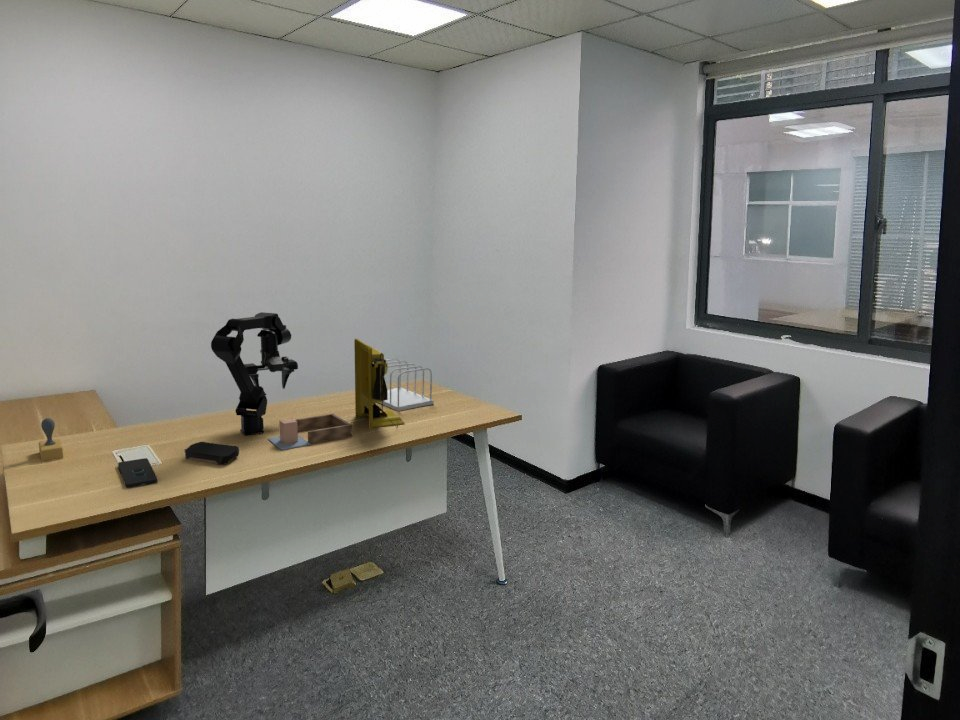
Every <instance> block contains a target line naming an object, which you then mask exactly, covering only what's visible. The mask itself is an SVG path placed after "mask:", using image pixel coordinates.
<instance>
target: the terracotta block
mask: <svg viewBox="0 0 960 720" xmlns="http://www.w3.org/2000/svg"><path fill="white" fill-rule="evenodd" d="M278 422H279V436H280V441H282V442H283V443H284V444H288V443H293V442H298V435H299V434H298V433H299V432H298V427H297V421H296V420H295V419H294V418H285V419H279V421H278Z"/></svg>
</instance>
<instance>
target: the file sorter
mask: <svg viewBox="0 0 960 720" xmlns="http://www.w3.org/2000/svg"><path fill="white" fill-rule="evenodd" d="M385 360H386V362H387V366H388V368H393V367H394V369H392V370H391V371H390V373H389V374H390V375H389V388H387V391H388V400H384V402H383V406H385V407H387V408H389V409H392V410H394V411H397V412H399V411H404V410H410V409H415V408H420V407H425V406H430V405H434V404H435V403H434V399H432V395H433V393H432V392H433V391H432V389H433V388H432V387H433V373H432V369H431V368H429V367H425V368H424V367H423V366H422V365H416V364H415V363H410V362H409V363H408V362H407V361H406V360H400V359H398V358H390V359H387V358H386V359H385ZM390 364H392V365H390ZM402 366H405V367H402ZM395 367H397V368H395ZM409 369H411V370H409ZM402 370H404V371H402ZM425 370H426V371H427V370H428V371H429V375H430V376H429V383H430V385H429V397H427V396H425V395H424V392H425V391H424V390H425ZM395 371H399V372H398V373H399V374H398V376H397V387H394V388H392V376H393V373H394V372H395ZM418 371H422V379H421V380H422V384H421V385H422V386H421V387H422V388H421V394H419V393H417V391H416V390H417V372H418ZM412 372H414V387H413V388H414V391H411V390H409V373H412ZM404 373H406V388H403V387H402V379H401V376H402V374H404ZM379 404H380V405H382V402H380V403H379Z"/></svg>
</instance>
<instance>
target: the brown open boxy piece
mask: <svg viewBox="0 0 960 720" xmlns="http://www.w3.org/2000/svg"><path fill="white" fill-rule="evenodd" d="M294 420H296V421H297V427H298V431H299V432H301V431H305V430H308V431H307V441H308V442H309V443H310V444H315V442H316V443H320V442H321V441H322V442H326V441H331V440H337V439H344V438H349V436H350V437H353V425H352V423H349V422H348V421H346V420H344V419H343V418H341V417H340V416H338V415H336V414H334V413H328V414H324V415H323V414H322V415H321V414H320V415H316V416H315V415H314V416H309V417H303V418H296V419H294ZM329 426H331V427H329ZM324 427H326V428H324ZM317 428H321V429H317ZM313 429H315V430H313ZM322 442H321V443H322Z"/></svg>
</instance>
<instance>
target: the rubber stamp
mask: <svg viewBox="0 0 960 720" xmlns="http://www.w3.org/2000/svg"><path fill="white" fill-rule="evenodd" d="M55 425H56V424H55V421H54V420H53V419H52V418H51V417H47V418H44V419H43V420H42V421H41V425H40V426H41V429H42V431H43V433H44V434H45V437H46V440H39V442H38V449H39V450H38V451H39V456H40V460H41V462H42V461H43V462H49V460H50V461H56V460H61V459H64V450H63V449H64V448H63V445H62V441H61V439H60V438H55V439H53V433H54V430H55V427H56V426H55Z"/></svg>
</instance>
